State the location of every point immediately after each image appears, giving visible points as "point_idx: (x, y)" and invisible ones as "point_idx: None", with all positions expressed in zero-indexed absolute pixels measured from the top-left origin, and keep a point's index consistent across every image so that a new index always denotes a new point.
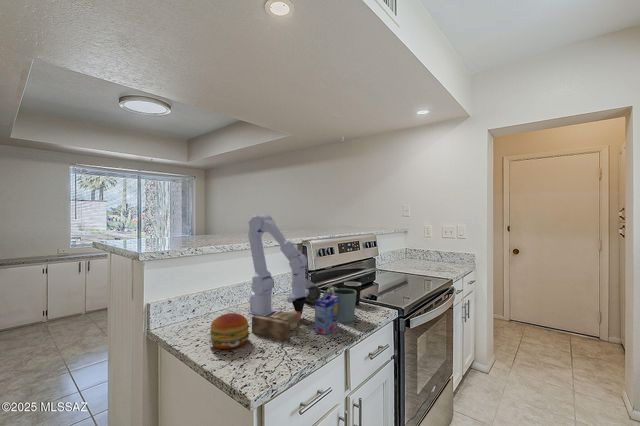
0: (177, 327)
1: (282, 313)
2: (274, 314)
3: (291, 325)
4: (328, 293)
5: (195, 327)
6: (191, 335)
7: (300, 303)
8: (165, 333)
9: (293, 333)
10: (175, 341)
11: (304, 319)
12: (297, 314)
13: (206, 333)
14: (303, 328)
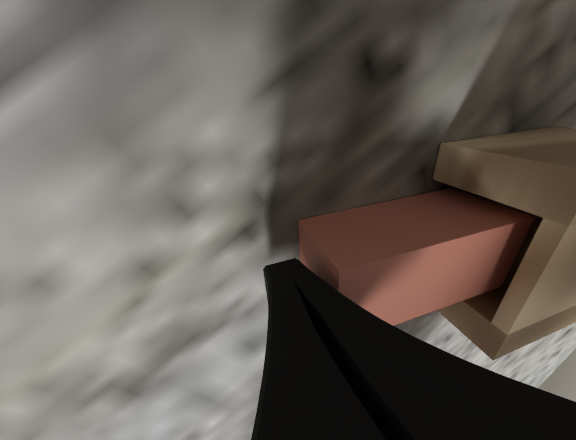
0: None
1: (552, 305)
2: (565, 325)
3: (553, 138)
4: None
5: None
6: (538, 364)
7: (524, 388)
8: None
9: (568, 68)
10: (566, 352)
11: (269, 198)
12: (406, 245)
13: (529, 357)
14: (478, 45)
